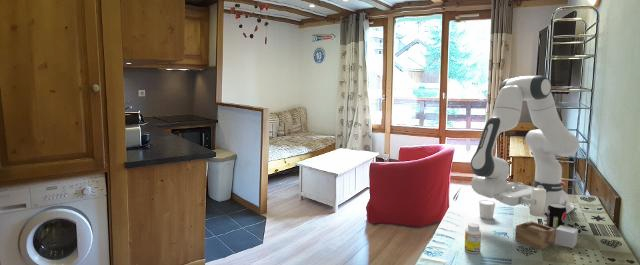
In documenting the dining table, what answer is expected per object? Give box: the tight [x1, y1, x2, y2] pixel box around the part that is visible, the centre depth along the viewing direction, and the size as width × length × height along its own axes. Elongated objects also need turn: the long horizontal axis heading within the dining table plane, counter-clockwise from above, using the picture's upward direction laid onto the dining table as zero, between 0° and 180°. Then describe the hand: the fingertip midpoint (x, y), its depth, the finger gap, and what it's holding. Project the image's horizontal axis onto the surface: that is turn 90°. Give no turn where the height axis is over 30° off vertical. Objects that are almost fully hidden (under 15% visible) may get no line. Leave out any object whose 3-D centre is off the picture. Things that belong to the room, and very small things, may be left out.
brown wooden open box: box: [514, 220, 556, 250], centre depth 153 cm, size 10×10×6 cm
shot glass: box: [478, 199, 496, 220], centre depth 181 cm, size 7×7×7 cm
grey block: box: [554, 225, 579, 249], centre depth 151 cm, size 6×6×6 cm
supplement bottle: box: [464, 222, 482, 255], centre depth 144 cm, size 6×6×10 cm
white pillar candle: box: [529, 188, 546, 218], centre depth 151 cm, size 5×5×10 cm
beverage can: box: [545, 203, 567, 229], centre depth 161 cm, size 7×7×12 cm
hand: (540, 201), depth 150 cm, fingers closed on white pillar candle, 5 cm apart
